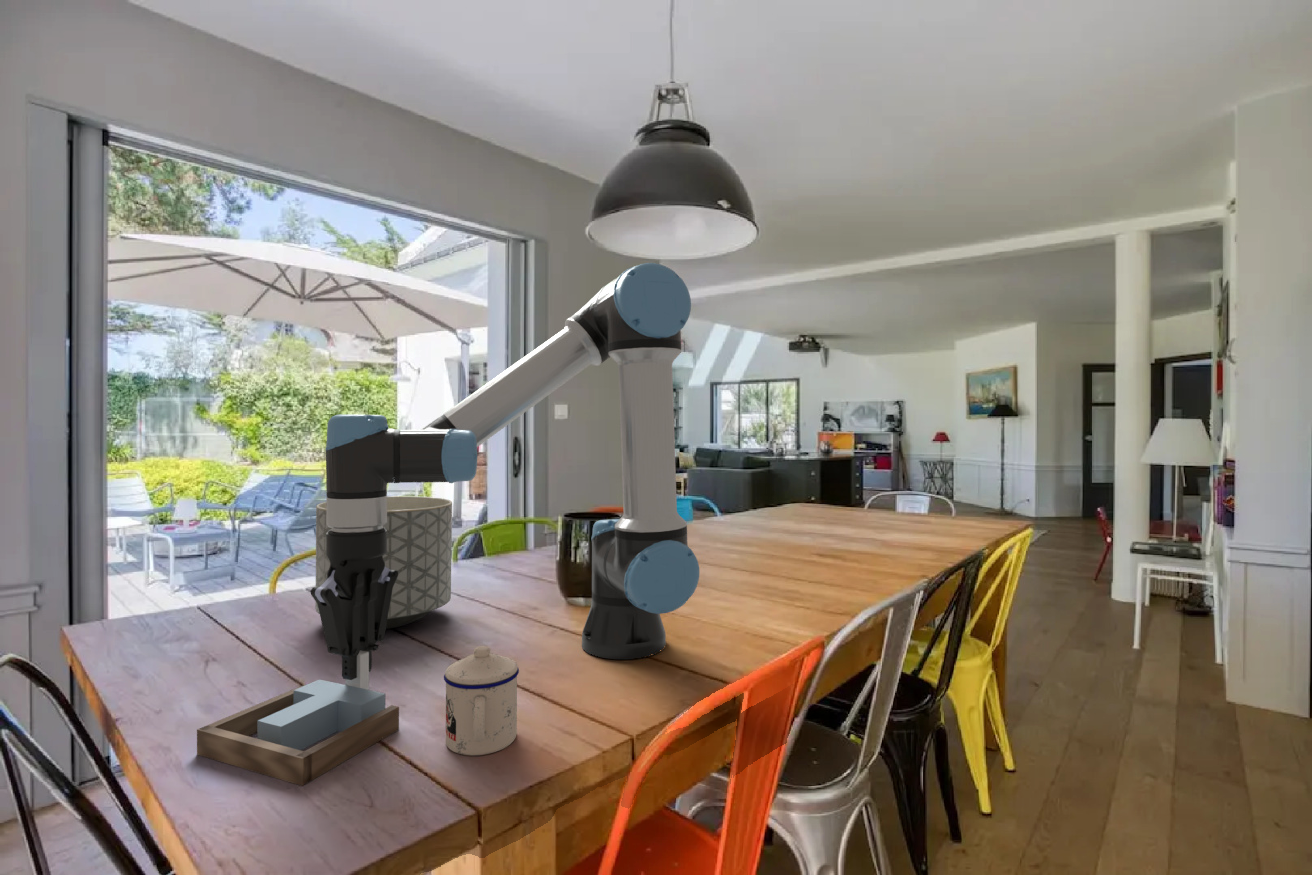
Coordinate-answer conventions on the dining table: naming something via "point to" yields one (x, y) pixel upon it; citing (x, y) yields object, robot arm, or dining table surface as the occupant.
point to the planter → (407, 555)
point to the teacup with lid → (481, 703)
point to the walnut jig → (286, 763)
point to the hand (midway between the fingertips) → (357, 699)
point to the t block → (319, 713)
